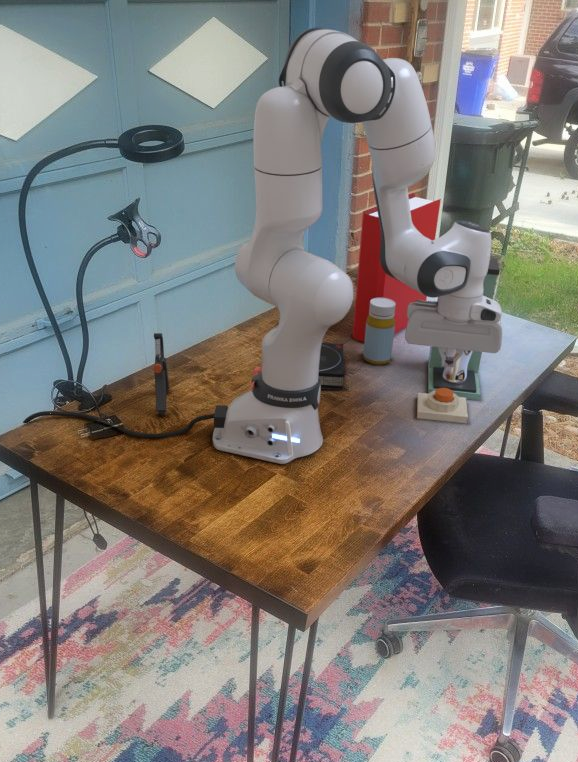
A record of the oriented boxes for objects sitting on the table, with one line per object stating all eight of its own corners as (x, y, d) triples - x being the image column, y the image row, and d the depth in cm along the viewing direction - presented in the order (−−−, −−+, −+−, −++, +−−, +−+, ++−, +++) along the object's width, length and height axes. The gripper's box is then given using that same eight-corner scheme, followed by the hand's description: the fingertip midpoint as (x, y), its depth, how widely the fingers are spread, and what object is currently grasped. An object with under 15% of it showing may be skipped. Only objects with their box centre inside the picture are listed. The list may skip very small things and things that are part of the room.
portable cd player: (271, 387, 167) (271, 371, 165) (276, 355, 181) (276, 340, 179) (342, 391, 168) (343, 375, 166) (341, 358, 182) (343, 344, 179)
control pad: (416, 418, 161) (419, 404, 158) (417, 399, 168) (419, 385, 166) (466, 423, 160) (469, 409, 158) (464, 404, 167) (467, 390, 165)
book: (400, 308, 212) (414, 192, 192) (424, 315, 208) (440, 198, 189) (349, 337, 193) (359, 212, 173) (375, 346, 189) (388, 219, 170)
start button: (434, 402, 161) (435, 395, 160) (434, 393, 164) (435, 386, 163) (452, 404, 160) (453, 397, 159) (452, 395, 164) (453, 388, 163)
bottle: (376, 368, 179) (382, 310, 170) (357, 357, 183) (362, 300, 174) (396, 361, 183) (403, 304, 174) (377, 351, 187) (383, 294, 178)
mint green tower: (426, 394, 170) (444, 280, 153) (426, 361, 184) (442, 253, 168) (480, 400, 169) (503, 286, 153) (476, 366, 184) (497, 259, 168)
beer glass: (467, 387, 169) (479, 326, 160) (438, 382, 170) (447, 321, 161) (469, 374, 175) (480, 314, 166) (441, 369, 176) (450, 310, 167)
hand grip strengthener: (155, 418, 153) (149, 352, 144) (159, 390, 163) (153, 327, 154) (167, 418, 153) (161, 352, 144) (169, 390, 163) (164, 327, 154)
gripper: (408, 304, 146) (399, 366, 154) (509, 315, 146) (495, 377, 154) (408, 293, 151) (400, 354, 159) (506, 304, 151) (493, 364, 159)
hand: (448, 365), depth 157 cm, fingers closed
